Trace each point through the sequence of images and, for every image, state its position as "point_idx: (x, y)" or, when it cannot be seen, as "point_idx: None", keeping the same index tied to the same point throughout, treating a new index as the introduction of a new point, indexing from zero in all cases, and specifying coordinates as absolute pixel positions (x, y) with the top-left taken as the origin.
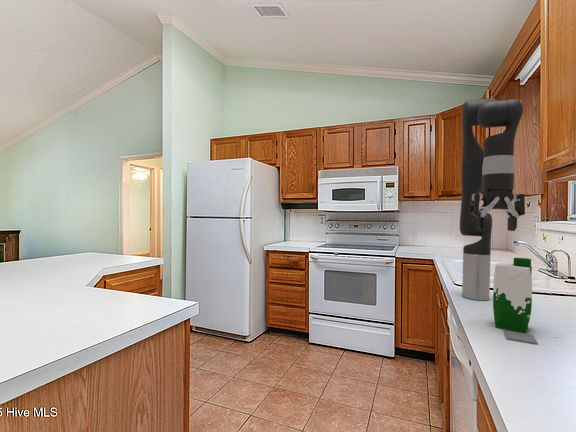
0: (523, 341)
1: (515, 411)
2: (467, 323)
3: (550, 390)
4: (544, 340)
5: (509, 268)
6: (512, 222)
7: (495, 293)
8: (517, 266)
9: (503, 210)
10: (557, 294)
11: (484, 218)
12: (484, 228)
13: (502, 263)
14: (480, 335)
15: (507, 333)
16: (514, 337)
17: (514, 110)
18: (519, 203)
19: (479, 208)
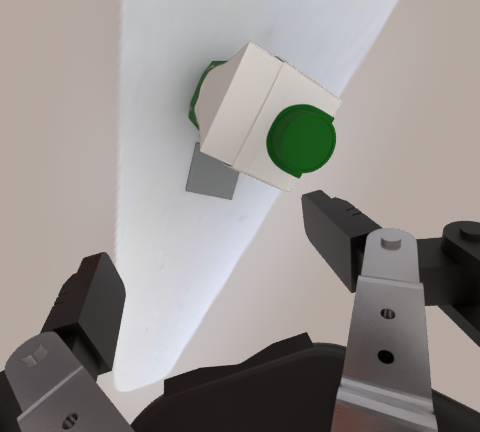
0: (211, 195)
1: (126, 376)
2: (127, 104)
3: (177, 331)
4: None
5: (238, 171)
6: (331, 262)
7: (196, 118)
8: (269, 165)
9: (359, 278)
10: None
11: (105, 367)
12: (120, 302)
13: (251, 79)
14: (140, 183)
15: (196, 164)
16: (201, 184)
17: None
18: None
19: (22, 419)
